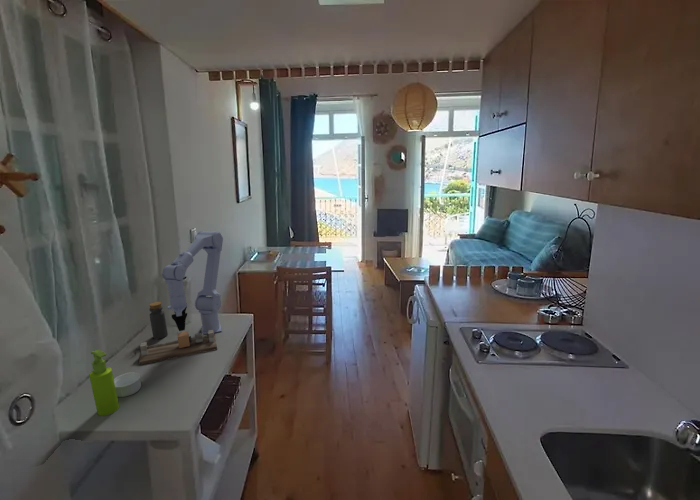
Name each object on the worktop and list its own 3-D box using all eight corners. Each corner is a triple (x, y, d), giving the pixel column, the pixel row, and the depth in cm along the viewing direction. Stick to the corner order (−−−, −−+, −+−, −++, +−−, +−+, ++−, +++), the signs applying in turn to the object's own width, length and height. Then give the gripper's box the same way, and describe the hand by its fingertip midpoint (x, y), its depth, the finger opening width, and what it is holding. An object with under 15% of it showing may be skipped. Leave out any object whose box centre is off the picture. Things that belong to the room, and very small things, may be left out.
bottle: (170, 334, 178) (165, 302, 175) (158, 340, 173) (152, 307, 170) (162, 331, 181) (157, 300, 178) (150, 337, 177) (144, 304, 173)
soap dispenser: (105, 419, 122) (92, 358, 117) (93, 412, 125) (80, 353, 121) (124, 408, 127) (113, 349, 122) (112, 402, 130) (101, 345, 125)
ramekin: (126, 400, 131) (124, 388, 130) (106, 395, 134) (104, 384, 133) (148, 385, 139) (146, 374, 138) (128, 381, 142) (126, 370, 141)
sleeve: (179, 343, 165) (177, 333, 164) (189, 341, 167) (188, 331, 166) (179, 348, 162) (177, 337, 160) (189, 346, 163) (188, 335, 162)
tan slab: (142, 350, 165) (140, 338, 164) (215, 336, 175) (213, 325, 173) (139, 364, 153) (137, 352, 152) (217, 349, 163) (215, 337, 162)
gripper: (166, 290, 165) (171, 321, 168) (165, 302, 151) (170, 335, 155) (185, 288, 167) (189, 318, 170) (185, 299, 154) (190, 332, 157)
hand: (181, 326), depth 163 cm, fingers open, 7 cm apart
